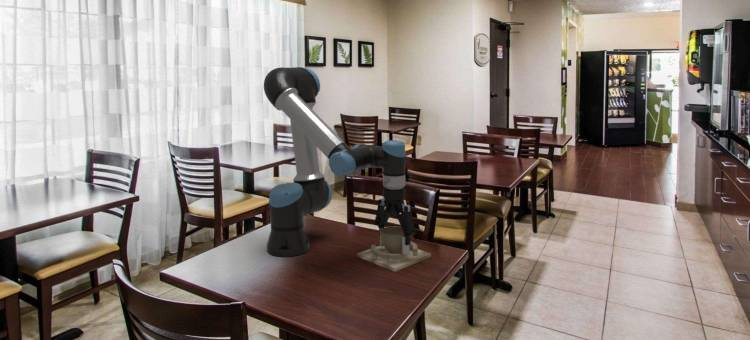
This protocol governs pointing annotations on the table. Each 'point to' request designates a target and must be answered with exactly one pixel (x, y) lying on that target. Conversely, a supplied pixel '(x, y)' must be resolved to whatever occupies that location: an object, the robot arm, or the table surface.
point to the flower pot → (392, 238)
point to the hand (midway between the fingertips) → (394, 249)
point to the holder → (394, 257)
